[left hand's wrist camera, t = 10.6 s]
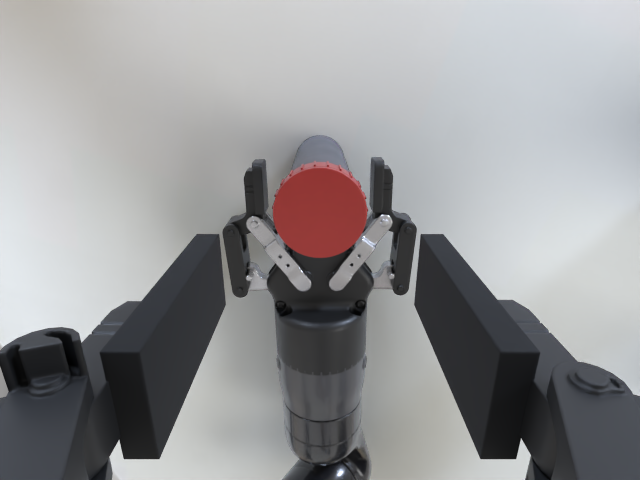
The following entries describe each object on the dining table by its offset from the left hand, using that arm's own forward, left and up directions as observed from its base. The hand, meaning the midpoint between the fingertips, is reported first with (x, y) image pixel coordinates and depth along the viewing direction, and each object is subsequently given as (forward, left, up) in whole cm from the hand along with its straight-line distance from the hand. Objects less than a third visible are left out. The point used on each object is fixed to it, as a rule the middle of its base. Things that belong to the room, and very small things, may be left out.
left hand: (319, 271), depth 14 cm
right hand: (-1, +1, -17) cm, 17 cm away
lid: (0, 0, -7) cm, 7 cm away
